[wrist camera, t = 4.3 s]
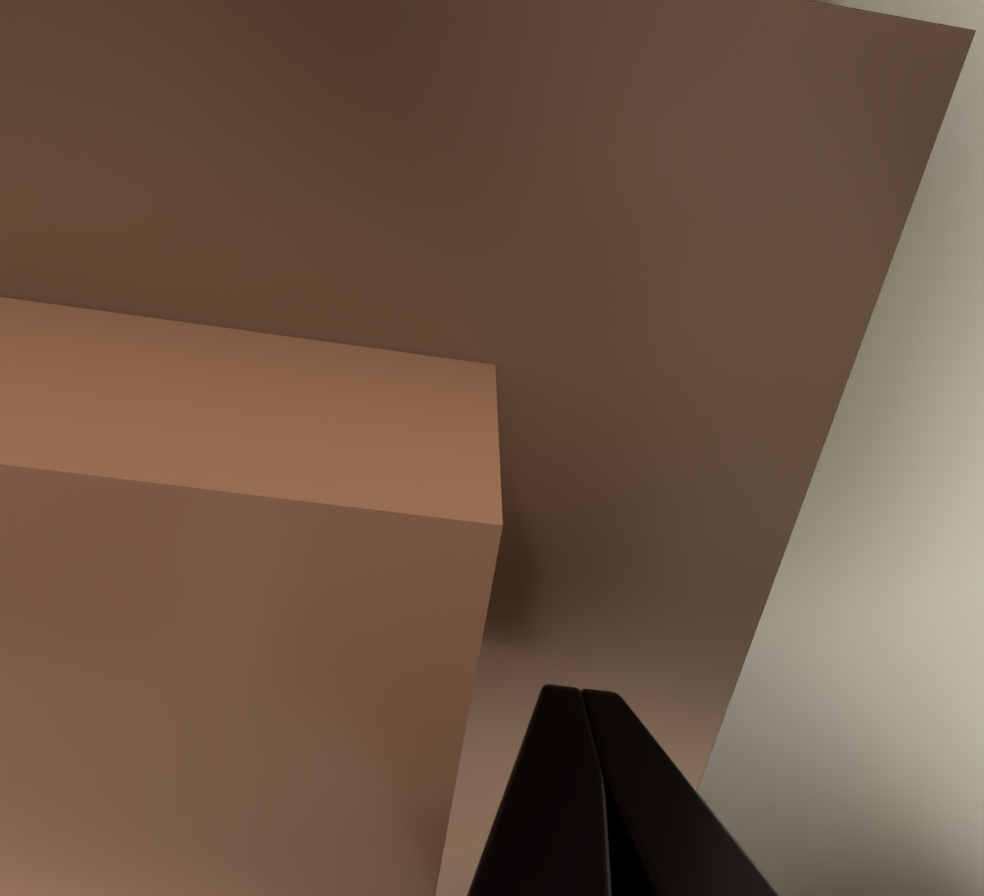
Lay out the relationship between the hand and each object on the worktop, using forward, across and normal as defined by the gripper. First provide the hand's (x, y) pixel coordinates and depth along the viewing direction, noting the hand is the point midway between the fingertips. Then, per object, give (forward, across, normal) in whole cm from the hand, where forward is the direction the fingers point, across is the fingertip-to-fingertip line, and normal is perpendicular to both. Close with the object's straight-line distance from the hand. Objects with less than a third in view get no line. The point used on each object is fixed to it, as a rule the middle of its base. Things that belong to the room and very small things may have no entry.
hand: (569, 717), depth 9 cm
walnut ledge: (+4, +3, 0) cm, 5 cm away
